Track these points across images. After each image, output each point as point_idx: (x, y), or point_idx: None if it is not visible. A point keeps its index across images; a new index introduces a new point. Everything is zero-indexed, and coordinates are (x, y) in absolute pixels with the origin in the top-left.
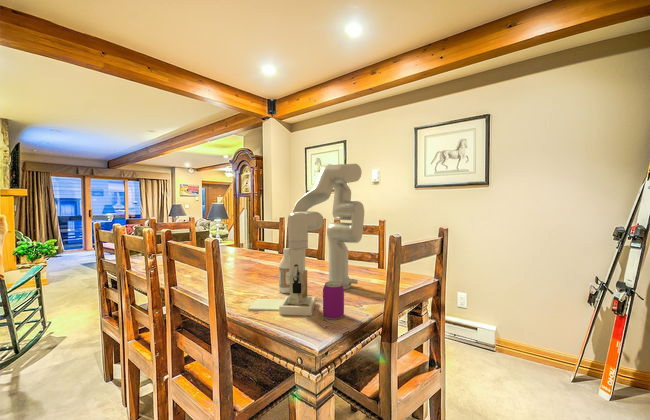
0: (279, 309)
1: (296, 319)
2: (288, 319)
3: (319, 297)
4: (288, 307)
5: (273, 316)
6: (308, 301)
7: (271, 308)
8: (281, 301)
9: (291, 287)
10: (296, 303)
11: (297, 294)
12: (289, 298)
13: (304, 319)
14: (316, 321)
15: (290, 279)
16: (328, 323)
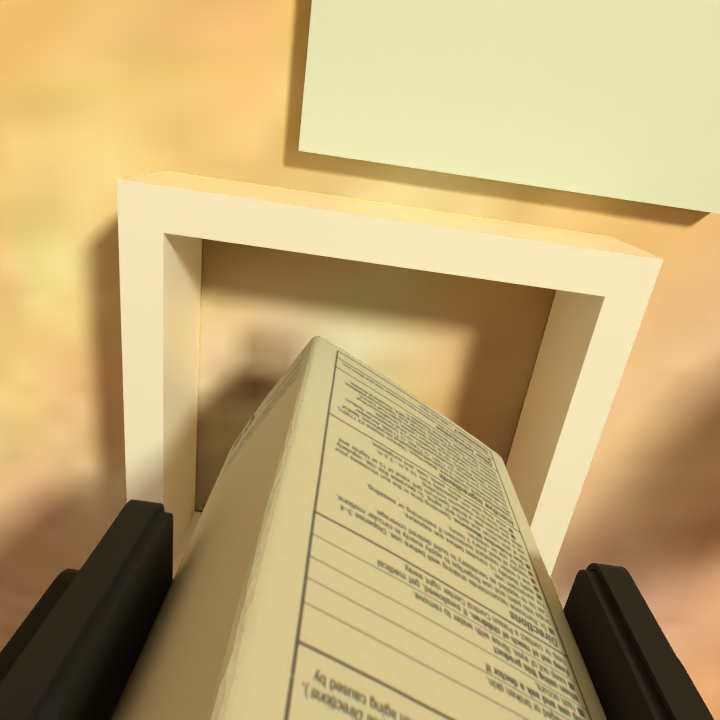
0: (138, 177)
1: (46, 388)
2: (31, 300)
3: (700, 621)
4: (125, 324)
5: (97, 86)
6: None
7: (332, 12)
8: (635, 160)
9: (238, 526)
10: (238, 438)
11: (187, 547)
12: (584, 310)
13: (59, 465)
14: (30, 562)
15: (189, 716)
16: (7, 642)
